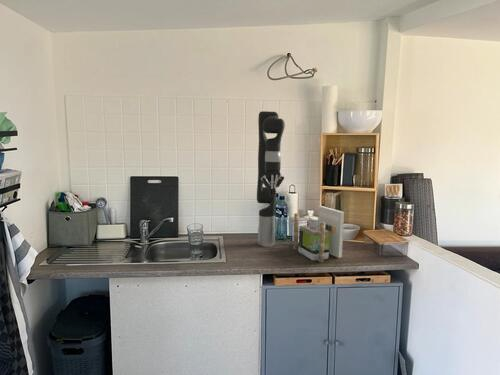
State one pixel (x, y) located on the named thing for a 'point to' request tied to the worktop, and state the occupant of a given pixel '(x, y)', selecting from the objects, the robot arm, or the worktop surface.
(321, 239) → the right post
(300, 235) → the tea box
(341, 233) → the breaker panel
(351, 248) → the worktop surface
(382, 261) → the worktop surface
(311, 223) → the skincare box
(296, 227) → the left post
